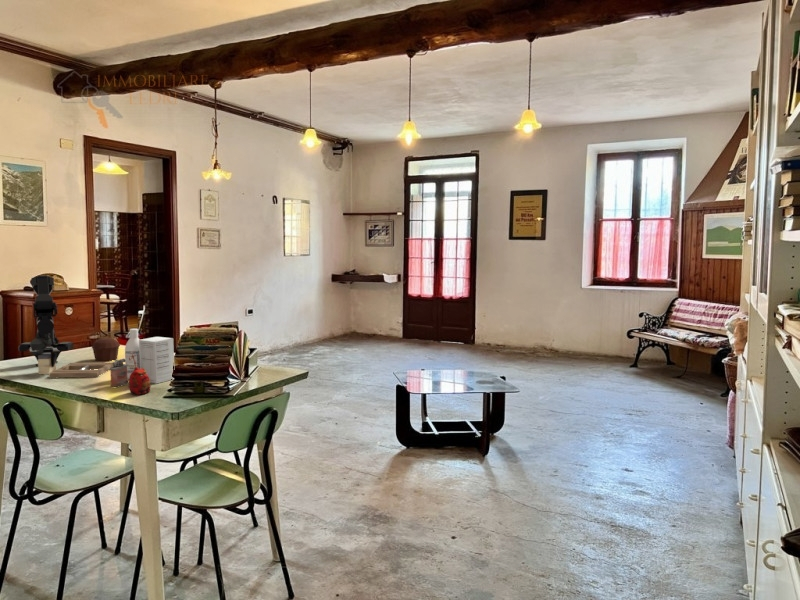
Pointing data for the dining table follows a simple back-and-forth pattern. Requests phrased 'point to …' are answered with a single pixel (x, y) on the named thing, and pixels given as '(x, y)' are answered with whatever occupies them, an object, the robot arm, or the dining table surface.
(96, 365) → the wooden frame
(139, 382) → the red clay folk toy
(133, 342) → the bath foam
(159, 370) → the supplement box
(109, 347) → the muffin
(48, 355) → the block
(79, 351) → the dining table surface
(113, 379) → the lighter
